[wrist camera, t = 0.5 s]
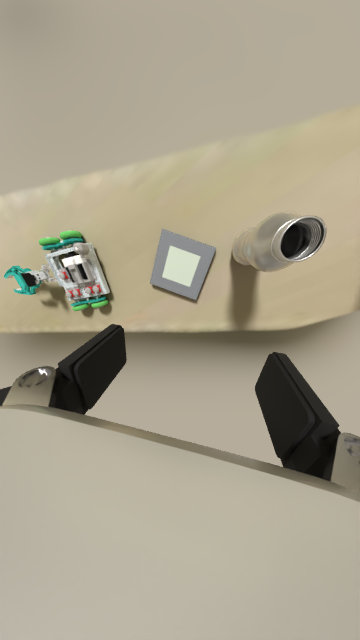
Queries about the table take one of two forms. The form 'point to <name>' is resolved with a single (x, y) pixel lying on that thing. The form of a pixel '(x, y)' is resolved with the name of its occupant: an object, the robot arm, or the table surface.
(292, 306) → the table surface
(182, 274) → the grey flat square slab
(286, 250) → the plastic bottle
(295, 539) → the robot arm
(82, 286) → the robot kit
